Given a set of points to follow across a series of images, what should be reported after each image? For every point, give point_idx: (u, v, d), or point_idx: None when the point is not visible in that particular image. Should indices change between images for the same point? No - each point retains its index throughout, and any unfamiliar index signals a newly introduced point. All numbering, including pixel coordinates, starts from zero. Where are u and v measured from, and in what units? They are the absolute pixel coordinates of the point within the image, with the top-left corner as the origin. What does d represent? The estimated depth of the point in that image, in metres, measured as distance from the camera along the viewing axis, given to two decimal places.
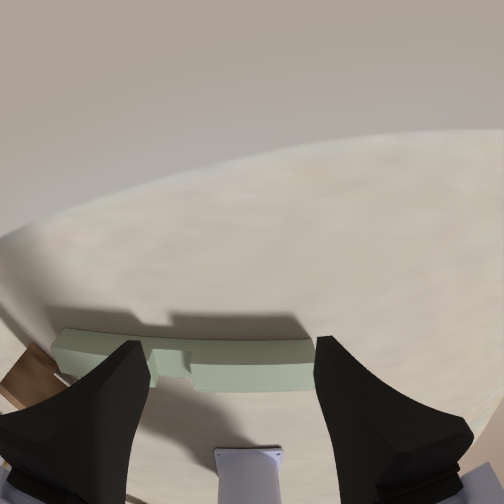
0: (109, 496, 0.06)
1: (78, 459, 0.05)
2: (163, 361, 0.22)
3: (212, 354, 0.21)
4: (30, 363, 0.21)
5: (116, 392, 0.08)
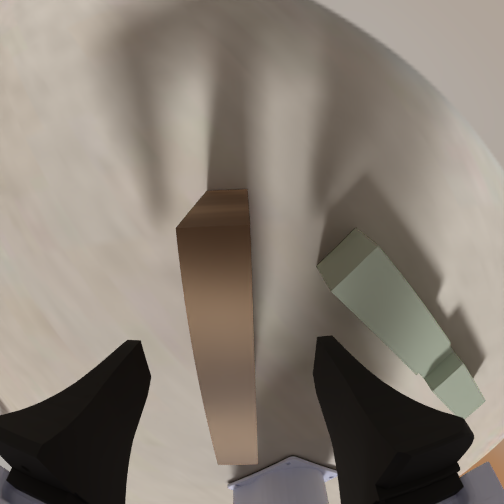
0: (109, 496, 0.06)
1: (78, 459, 0.05)
2: None
3: None
4: None
5: (116, 392, 0.08)
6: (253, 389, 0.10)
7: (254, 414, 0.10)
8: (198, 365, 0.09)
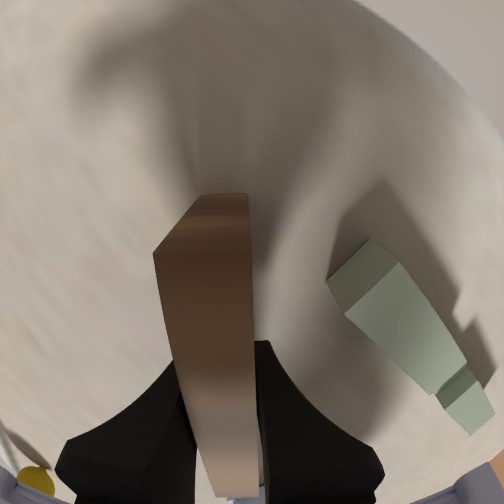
0: None
1: (168, 477, 0.05)
2: None
3: None
4: None
5: None
6: (254, 433, 0.08)
7: (255, 455, 0.08)
8: (189, 409, 0.07)
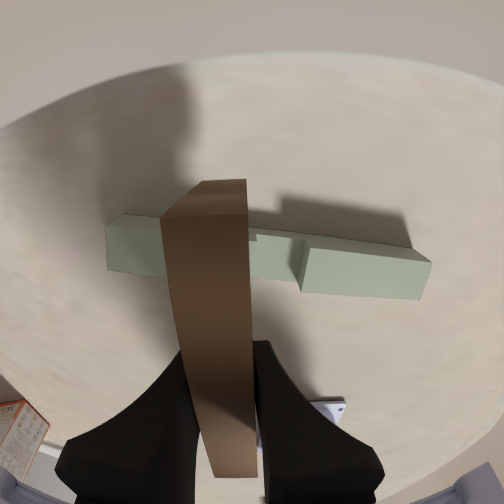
0: None
1: (167, 477, 0.05)
2: (263, 254, 0.19)
3: (328, 244, 0.19)
4: None
5: (187, 398, 0.08)
6: (252, 402, 0.09)
7: (253, 428, 0.09)
8: (190, 376, 0.08)
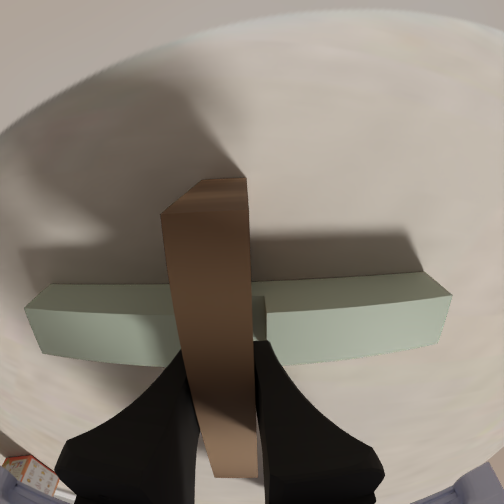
0: None
1: (167, 477, 0.05)
2: None
3: (298, 297, 0.13)
4: None
5: (187, 398, 0.08)
6: (253, 401, 0.09)
7: (254, 427, 0.09)
8: (190, 375, 0.08)
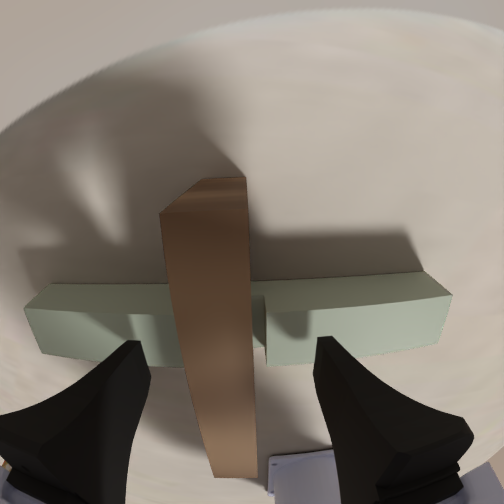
0: (109, 496, 0.06)
1: (78, 459, 0.05)
2: None
3: (298, 297, 0.13)
4: None
5: (116, 392, 0.08)
6: (252, 401, 0.09)
7: (253, 427, 0.09)
8: (189, 374, 0.08)
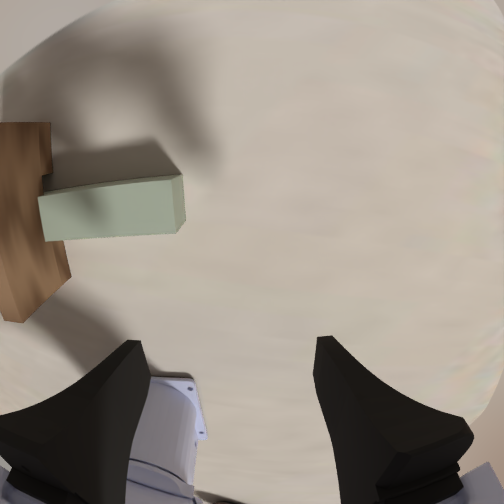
0: (109, 496, 0.06)
1: (78, 459, 0.05)
2: None
3: (63, 191, 0.16)
4: (31, 139, 0.14)
5: (116, 392, 0.08)
6: None
7: (0, 255, 0.12)
8: None
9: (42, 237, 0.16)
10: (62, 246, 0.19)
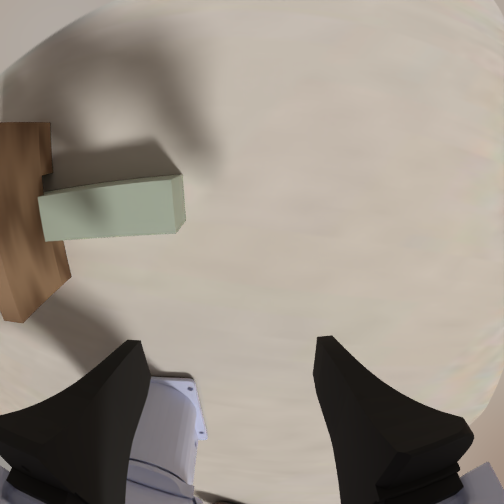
0: (109, 496, 0.06)
1: (78, 459, 0.05)
2: None
3: (63, 191, 0.16)
4: (31, 139, 0.14)
5: (116, 392, 0.08)
6: None
7: (0, 255, 0.12)
8: None
9: (42, 237, 0.16)
10: (62, 246, 0.19)
